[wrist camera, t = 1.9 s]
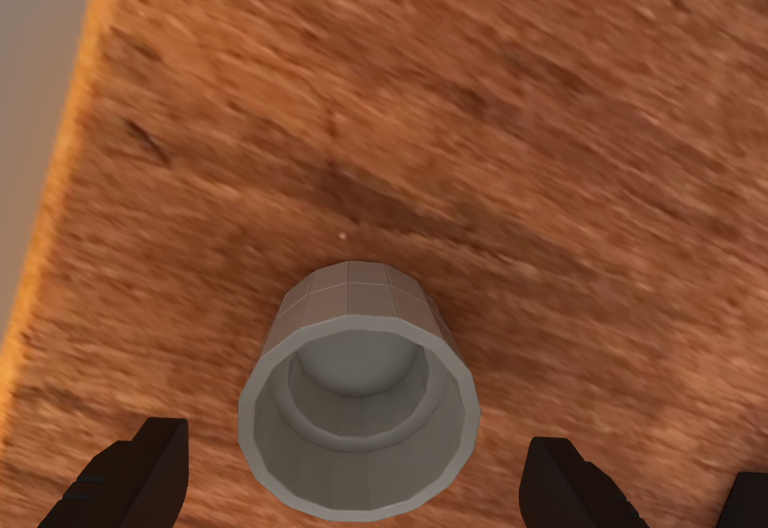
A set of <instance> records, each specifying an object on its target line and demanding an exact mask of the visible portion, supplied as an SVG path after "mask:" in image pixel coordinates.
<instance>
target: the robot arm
mask: <svg viewBox="0 0 768 528" xmlns="http://www.w3.org/2000/svg"><path fill="white" fill-rule="evenodd" d="M188 478H189V447H188V422H187V420H186V419H183V418H162V417H150V418H148V419H147V420H146V421H145V423H144V424H143V425H142V427H141V428H140V429H139V431H138V432H137V434H136V435H135V436H134V438H133V439H132V441H119V440H118V441H116V442H115V443H113V444H112V445H110V446H109V447H108V448H106V449H105V450H103V451H102V452H100V453H99V454H97V455H96V456H95V457H93V459H92V460H91V461H90V462H89V463H88V465H87V466H86V467H85V468H84V470H83V471H82V472H81V473H80V475H79V476H78V477H77V480H76V482H73V483H72V485H71V486H70V487H69V488H68V490H67V491H66V492H65V493H64V495H63V498H62V500H59V501H58V502H57V503H56V505H55V506H54V507H53V508H52V510H51V511H50V512H49V513H48V515H47V516H46V517H45V518H44V520H43V521H42V522H41V523H40V524H39V526H38V527H37V528H173V526H174V523H175V521H176V519H177V517H178V515H179V512H180V510H181V508H182V505H183V503H184V499H185V496H186V491H187V486H188ZM519 506H520V511H521V515H522V518H523V520H524V522H525V525H526V527H527V528H649V526H648V525H647V524H646V522H645V521H644V520H643V519H642V518H640V517H639V513H638V512H637V511H636V509H635V508H634V507H633V506H632V504H631V503H630V502H627V500H626V497H625V495H624V494H623V493H622V491H621V490H620V489H619V488H618V486H617V485H616V484H615V482H614V481H613V480H612V479H611V478H610V477H609V476H608V475H606V474H605V473H604V472H603V471H601V470H600V469H599V468H598V467H596V466H595V465H594V464H593V463H591V462H586V461H584V459H583V458H582V456H581V455H580V454H579V452H578V451H577V450H576V448H575V447H574V446H573V444H572V443H571V442H570V441H569V440H568V439H566V438H555V437H534V438H533V439H532V440H531V442H530V445H529V449H528V454H527V458H526V462H525V466H524V471H523V475H522V479H521V483H520V488H519Z"/></svg>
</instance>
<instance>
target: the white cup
mask: <svg viewBox="0 0 768 528" xmlns="http://www.w3.org/2000/svg"><path fill="white" fill-rule="evenodd" d="M480 416H481V409H480V405H479V401H478V397H477V393H476V389H475V385H474V381H473V377H472V373H471V371H470V370H469V368H468V366H467V364H466V362H465V360H464V358H463V356H462V354H461V352H460V350H459V348H458V346H457V344H456V342H455V340H454V338H453V336H452V334H451V332H450V331H449V329H448V327H447V325H446V323H445V321H444V319H443V317H442V315H441V313H440V311H439V309H438V307H437V305H436V303H435V302H434V301H433V300H432V298H431V297H430V296H429V295H428V293H427V292H426V291H425V290H424V289H423V287H422V286H421V285H420V284H419V282H418V281H416V280H415V279H414V278H412V277H410V276H408V275H406V274H404V273H402V272H400V271H399V270H397V269H395V268H393V267H391V266H389V265H387V264H383V263H372V262H361V261H345V262H342V263H338V264H335V265H331V266H328V267H324V268H321V269H318V270H315V272H312V273H310V274H309V275H308V276H307V277H305V278H304V279H303V280H302V281H300V282H299V283H298V284H296V285H295V286H294V287H293V288H291V289H290V290H289V291H288V292H287V293H286V294H285V296H284V298H283V299H282V301H281V303H280V305H279V307H278V309H277V311H276V313H275V315H274V316H273V318H272V320H271V323H270V325H269V327H268V330H267V332H266V334H265V337H264V339H263V342H262V344H261V346H260V349H259V351H258V353H257V356H256V358H255V360H254V363H253V365H252V368H251V370H250V372H249V375H248V377H247V379H246V382H245V384H244V387H243V389H242V391H241V394H240V396H239V400H238V431H237V439H238V443H239V446H240V448H241V450H242V452H243V454H244V456H245V458H246V461H247V463H248V465H249V467H250V469H251V471H252V473H253V476H254V477H255V478H256V480H257V481H258V482H259V483H261V484H262V485H263V486H264V487H265V488H266V489H268V490H269V491H270V492H271V493H272V494H273V495H274V496H276V497H277V498H278V499H279V500H280V501H281V502H282V503H284V504H285V505H287V506H288V507H291V508H293V509H296V510H299V511H301V512H304V513H307V514H310V515H312V516H315V517H318V518H320V519H323V520H328V521H343V522H371V521H372V522H375V521H378V520H382V519H385V518H389V517H392V516H396V515H399V514H402V513H406V512H409V511H413V509H416V508H418V507H419V506H421V505H422V504H424V503H425V502H427V501H428V500H430V499H431V498H433V497H434V496H435V495H437V494H438V493H440V492H441V491H443V490H444V489H446V488H447V487H448V486H449V485H450V484H451V483H452V481H453V480H454V479H455V477H456V476H457V474H458V473H459V472H460V470H461V469H462V467H463V466H464V464H465V463H466V462H467V460H468V459H469V457H470V456H471V455H472V452H473V450H474V445H475V440H476V436H477V431H478V426H479V421H480Z"/></svg>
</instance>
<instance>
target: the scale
mask: <svg viewBox="0 0 768 528" xmlns="http://www.w3.org/2000/svg"><path fill="white" fill-rule="evenodd" d="M717 528H768V474H762V473H739V475H738V478H737V480H736V483H735V485H734V487H733V490H732V492H731V495H730V497H729V499H728V502H727V504H726V507H725V509H724V511H723V514H722V516H721V519H720V521H719V523H718V526H717Z"/></svg>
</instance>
